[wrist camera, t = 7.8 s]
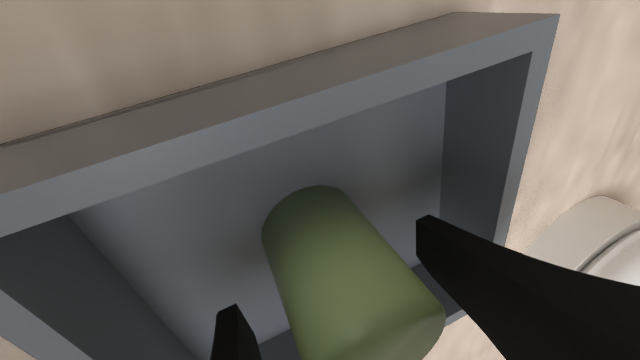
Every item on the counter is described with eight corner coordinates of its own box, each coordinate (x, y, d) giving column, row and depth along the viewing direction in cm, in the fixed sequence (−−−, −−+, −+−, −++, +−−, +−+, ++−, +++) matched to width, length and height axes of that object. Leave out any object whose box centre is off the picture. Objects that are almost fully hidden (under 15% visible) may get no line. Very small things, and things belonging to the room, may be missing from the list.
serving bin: (197, 373, 16) (201, 465, 13) (-16, 149, 8) (-147, 241, 5) (440, 251, 19) (491, 300, 16) (455, 12, 12) (560, 13, 8)
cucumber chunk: (278, 279, 14) (327, 421, 9) (246, 210, 12) (292, 356, 7) (359, 241, 15) (443, 353, 10) (346, 170, 12) (449, 272, 8)
